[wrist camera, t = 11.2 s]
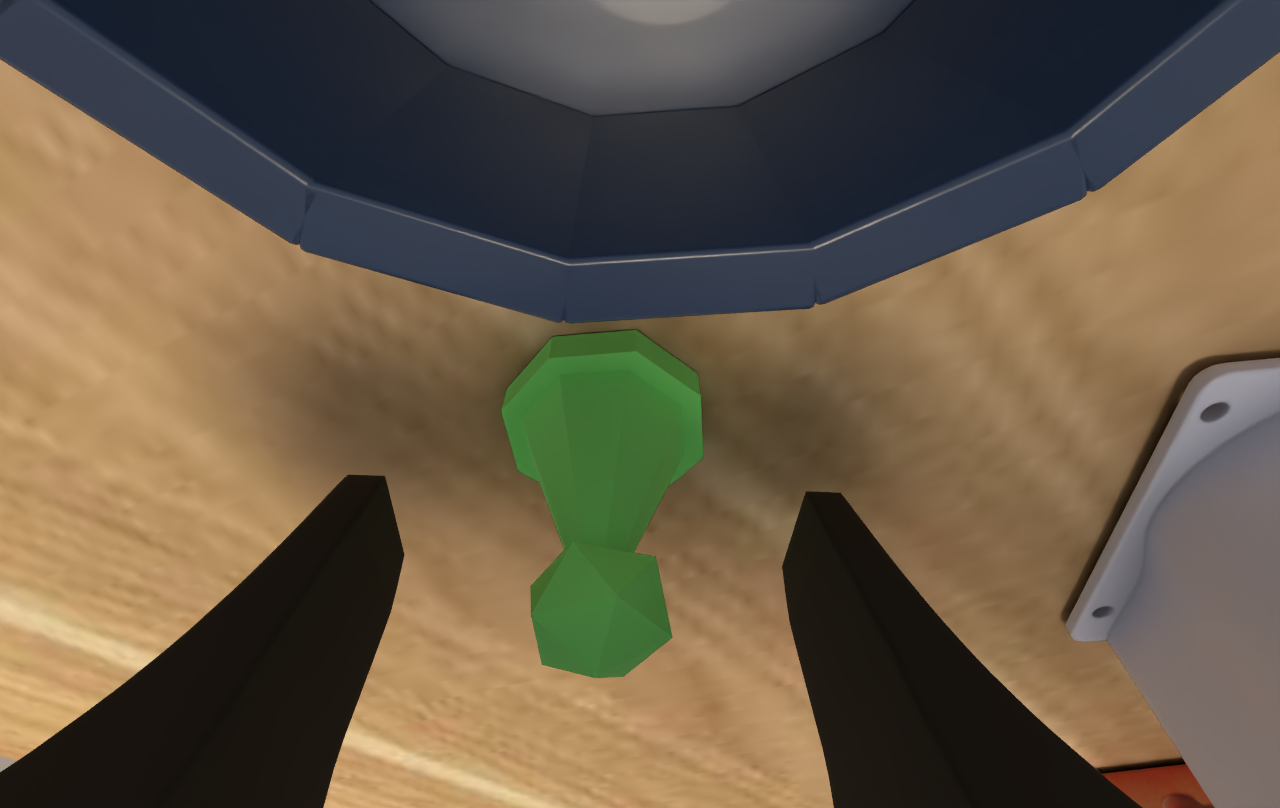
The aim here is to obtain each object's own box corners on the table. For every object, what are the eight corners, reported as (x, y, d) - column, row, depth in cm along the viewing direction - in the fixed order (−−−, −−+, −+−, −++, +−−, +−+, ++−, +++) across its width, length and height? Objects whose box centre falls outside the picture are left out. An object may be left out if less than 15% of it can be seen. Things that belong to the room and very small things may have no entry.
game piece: (650, 290, 12) (661, 541, 7) (737, 443, 14) (788, 707, 10) (464, 377, 13) (370, 642, 9) (572, 505, 16) (546, 768, 11)
